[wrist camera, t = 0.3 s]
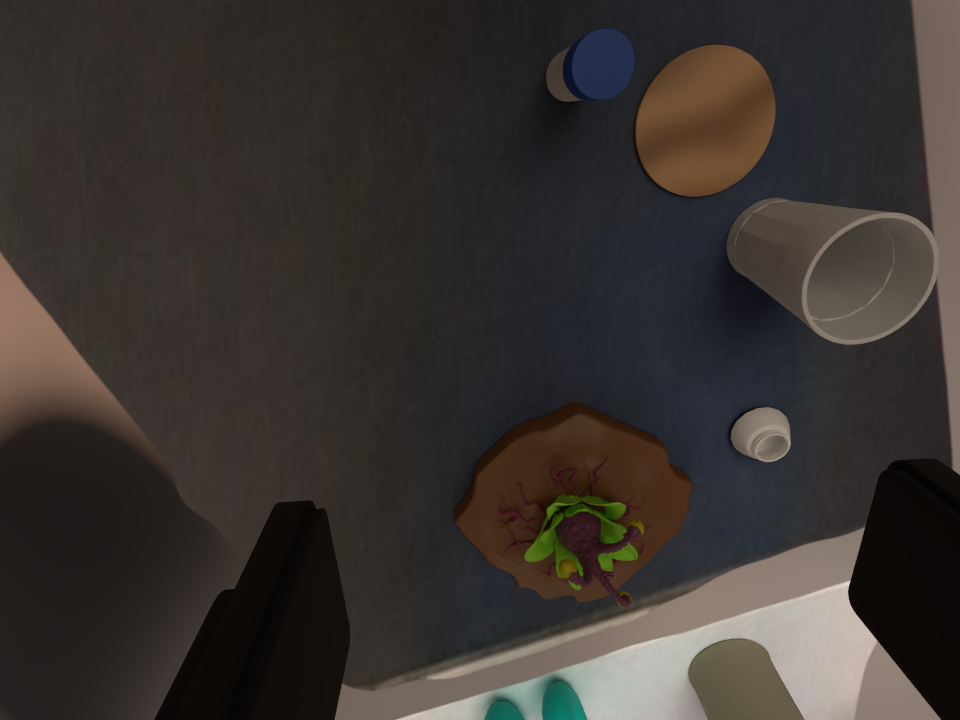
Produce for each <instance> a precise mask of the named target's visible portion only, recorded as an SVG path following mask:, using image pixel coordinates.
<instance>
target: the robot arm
mask: <svg viewBox="0 0 960 720" xmlns="http://www.w3.org/2000/svg"><path fill="white" fill-rule="evenodd" d="M848 595H849V601H850V604H851V606H852V608H853V610H854V612H855V613H856V614H857V616H858V617H859V618H860V619H861V621H862V622H863V623H864V624H865V626H866V627H867V628H868V629H869V631H870V632H871V633H872V634H873V636H874V637H875V638H876V639H877V641H878V642H879V643H880V644H881V645H882V647H883V648H884V649H885V650H886V652H887V653H888V654H889V655H890V657H891V658H892V659H893V660H894V662H895V663H896V664H897V665H898V667H899V668H900V669H901V670H902V671H903V673H904V674H905V675H906V677H907V678H908V679H909V680H910V681H911V683H912V684H913V685H914V686H915V688H916V689H917V690H918V691H919V692H920V694H921V695H922V696H923V698H924V699H925V700H926V701H927V703H928V704H929V705H930V706H931V707H932V709H933V710H934V711H935V712H936V714H937V715H938V716H939V717H940V719H941V720H960V475H959V474H958V473H956V472H955V471H953V470H952V469H951V468H949V467H948V466H946V465H945V464H944V463H942V462H940V461H938V460H936V459H931V458H926V459H911V460H898V461H894V462H892V463H891V464H890V465H889V466H888V468H887V470H886V471H883V472H882V473H881V474H880V476H879V479H878V483H877V486H876V490H875V494H874V497H873V501H872V505H871V508H870V512H869V516H868V519H867V523H866V527H865V530H864V534H863V538H862V542H861V545H860V549H859V552H858V556H857V560H856V563H855V567H854V571H853V574H852V578H851V582H850V585H849V590H848ZM349 645H350V626H349V620H348V615H347V610H346V605H345V600H344V596H343V591H342V586H341V581H340V576H339V571H338V566H337V561H336V556H335V551H334V546H333V541H332V536H331V531H330V526H329V521H328V516H327V513H326V510H325V509H316V507H315V504H314V503H313V501H295V502H281V503H277V504H275V506H274V507H273V509H272V511H271V513H270V515H269V518H268V520H267V522H266V524H265V526H264V528H263V530H262V532H261V534H260V537H259V539H258V541H257V543H256V545H255V547H254V549H253V551H252V554H251V556H250V558H249V560H248V562H247V564H246V566H245V568H244V570H243V573H242V575H241V577H240V579H239V581H238V583H237V585H236V587H235V589H231V590H230V589H229V590H224V591H222V592H221V593H220V594H219V595H218V596H217V598H216V599H215V601H214V602H213V605H212V606H211V608H210V610H209V612H208V614H207V616H206V618H205V620H204V622H203V624H202V626H201V628H200V630H199V632H198V634H197V636H196V638H195V640H194V642H193V644H192V646H191V648H190V650H189V652H188V654H187V656H186V658H185V660H184V662H183V664H182V666H181V668H180V670H179V672H178V674H177V676H176V678H175V680H174V682H173V684H172V686H171V688H170V690H169V692H168V694H167V696H166V698H165V700H164V702H163V704H162V706H161V708H160V710H159V712H158V714H157V716H156V717H155V719H154V720H334V719H335V714H336V710H337V705H338V700H339V695H340V690H341V685H342V680H343V676H344V671H345V666H346V661H347V656H348V651H349Z"/></svg>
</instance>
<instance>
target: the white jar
mask: <svg viewBox="0 0 960 720" xmlns="http://www.w3.org/2000/svg"><path fill="white" fill-rule="evenodd" d="M730 439H731V441H732V443H733V446H734V447H735V449H737V450H738V451H739V452H740V453H742V454H744V455H747V456H749V457H752V458H755V459H759V460H761V461H764V462H772V461H776V460H778V459H780V458H782V457H783V456H784V455H785V454H786V453H787V452H788V450H789V448H790V425H789V422H788V419H787V417H786V416H785V415H784V414H783V413H781V412H780V411H779V410H777V409H773V408H769V407H765V408H757V409H754V410H752V411H750V412H747V413H745V414H744V415H743V416H742V417H741V418H739V419H738V420H737V421H736V423H735V425H734V426H733V428H732V430H731V438H730Z"/></svg>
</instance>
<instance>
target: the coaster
mask: <svg viewBox="0 0 960 720" xmlns="http://www.w3.org/2000/svg"><path fill="white" fill-rule="evenodd" d="M775 108H776V104H775V95H774V91H773V87H772V84H771V82H770V79H769V77H768V75H767V73H766V72H765V70H764V68H763V67H762V66H761V65H760V64H759V62H758V61H757V60H755V59H754V58H753V57H752V56H751V55H749V54H748V53H746V52H744V51H742V50H740V49H738V48H735V47H731V46H727V45H707V46H702V47H698V48H695V49H692V50H689V51H687V52H685V53H683V54H681V55H679V56H677V57H676V58H674V59H673V60H672V61H670V62H669V63H668V64H667V65H665V66H664V67H663V68H662V69H661V70H660V71H659V72H658V74H657V75H656V76H655V77H654V78H653V80H652V81H651V83H650V84H649V85H648V87H647V89H646V91H645V93H644V94H643V97H642V99H641V102H640V104H639V107H638V111H637V114H636V120H635V132H634V136H635V145H636V150H637V154H638V157H639V160H640V162H641V164H642V166H643V168H644V170H645V171H646V173H647V174H648V175H649V177H650V178H651V179H652V180H653V181H654V182H655V183H657V184H658V185H659V186H660V187H662V188H664V189H666V190H667V191H669V192H672V193H675V194H678V195H682V196H689V197H699V196H707V195H711V194H715V193H718V192H720V191H723V190H725V189H727V188H729V187H730V186H732V185H734V184H735V183H737V182H738V181H739V180H740V179H742V178H743V177H744V176H745V175H746V174H747V173H748V172H749V171H750V170H751V169H752V168H753V167H754V166H755V164H756V163H757V162H758V161H759V159H760V157H761V156H762V154H763V153H764V151H765V149H766V147H767V145H768V143H769V140H770V137H771V135H772V131H773V127H774V121H775Z"/></svg>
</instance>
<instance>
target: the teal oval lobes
mask: <svg viewBox="0 0 960 720" xmlns="http://www.w3.org/2000/svg"><path fill="white" fill-rule="evenodd" d="M542 715H543V720H587V718H586V715H585V712H584V710H583V707H582V705H581V703H580V700H579V699H578V697H577V695H576V693H575V692H574V690H573V689H572V688H571V687H570V686H569V685H568V684H566V683H564V682H555V683H553V684H551V685H550V686H549V687H548V689H547V690H546V692H545V695H544V698H543V705H542ZM485 720H525V719H524V718H523V716H522V715H521V713H520V712H519V711H518V709H517V708H516V707H514V706H513V705H512V704H510V703H508V702H505V701H498V702H496V703H494V704H493V705H491V706H490V708H489V709H488V711H487V713H486V716H485Z"/></svg>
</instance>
